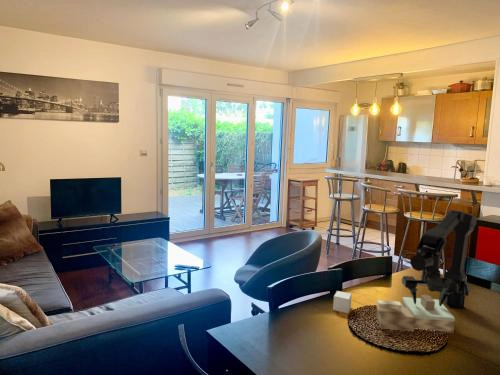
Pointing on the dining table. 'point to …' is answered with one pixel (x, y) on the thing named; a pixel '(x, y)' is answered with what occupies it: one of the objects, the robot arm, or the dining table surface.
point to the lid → (428, 308)
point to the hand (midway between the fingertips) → (427, 304)
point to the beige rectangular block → (389, 306)
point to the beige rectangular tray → (410, 321)
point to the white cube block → (342, 302)
